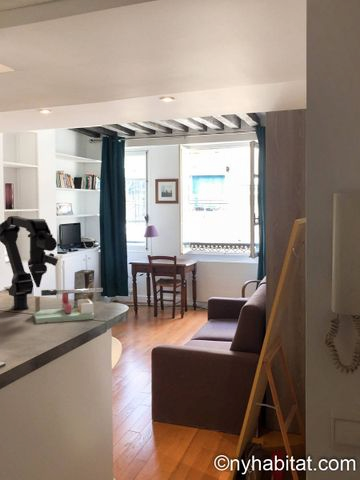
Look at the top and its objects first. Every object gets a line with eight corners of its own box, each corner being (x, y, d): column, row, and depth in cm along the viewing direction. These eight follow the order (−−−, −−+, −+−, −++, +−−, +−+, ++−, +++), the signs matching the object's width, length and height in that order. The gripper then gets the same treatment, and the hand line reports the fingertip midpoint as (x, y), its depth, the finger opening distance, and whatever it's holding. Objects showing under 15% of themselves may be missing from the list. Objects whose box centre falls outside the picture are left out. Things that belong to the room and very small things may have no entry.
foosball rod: (41, 308, 189) (41, 289, 188) (101, 304, 199) (101, 286, 198) (43, 314, 180) (43, 294, 179) (106, 310, 190) (107, 291, 189)
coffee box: (86, 307, 202) (87, 273, 201) (73, 306, 204) (73, 272, 202) (94, 303, 211) (94, 269, 210) (81, 302, 213) (82, 269, 211)
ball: (87, 312, 192) (78, 315, 191) (85, 304, 191) (76, 306, 190) (89, 315, 189) (80, 317, 187) (87, 306, 188) (78, 308, 186)
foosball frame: (33, 315, 188) (33, 296, 187) (88, 311, 197) (88, 293, 196) (36, 323, 176) (36, 303, 175) (94, 318, 185) (94, 300, 184)
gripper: (59, 251, 182) (59, 288, 183) (53, 245, 199) (53, 280, 200) (31, 251, 177) (31, 289, 179) (27, 246, 194) (27, 281, 196)
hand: (37, 285), depth 189 cm, fingers open, 9 cm apart
